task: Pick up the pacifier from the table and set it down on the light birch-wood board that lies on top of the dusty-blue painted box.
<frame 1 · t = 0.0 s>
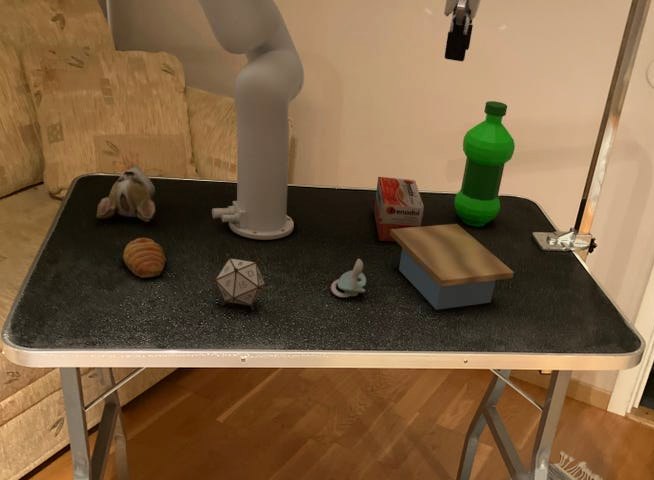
hand: (456, 54, 124), 37 cm above the table, tool pointing down, fingers open, 9 cm apart
pastry: (146, 267, 129), on the table
blue box: (443, 285, 135), on the table
plastic bottle: (473, 222, 162), on the table
medicine box: (395, 228, 155), on the table
board: (449, 255, 132), resting on blue box
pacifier: (347, 292, 130), on the table
game die: (240, 304, 122), on the table
ceramic sculpture: (131, 215, 145), on the table
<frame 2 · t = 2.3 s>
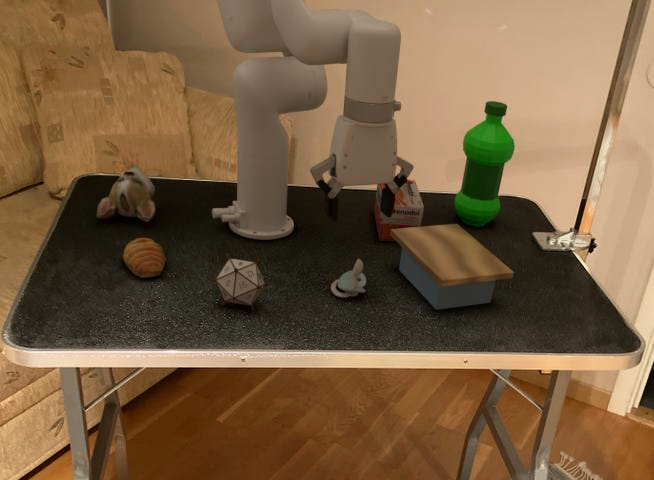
hand: (358, 216, 122), 14 cm above the table, tool pointing down, fingers open, 9 cm apart
nothing on the table moved.
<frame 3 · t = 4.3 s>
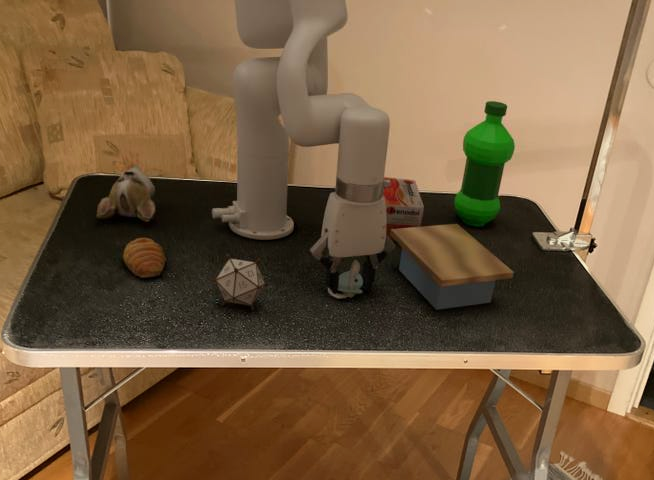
hand: (349, 287, 129), 1 cm above the table, tool pointing down, fingers closed on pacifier, 5 cm apart
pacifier: (344, 293, 129), on the table, touching gripper
everything else where it was.
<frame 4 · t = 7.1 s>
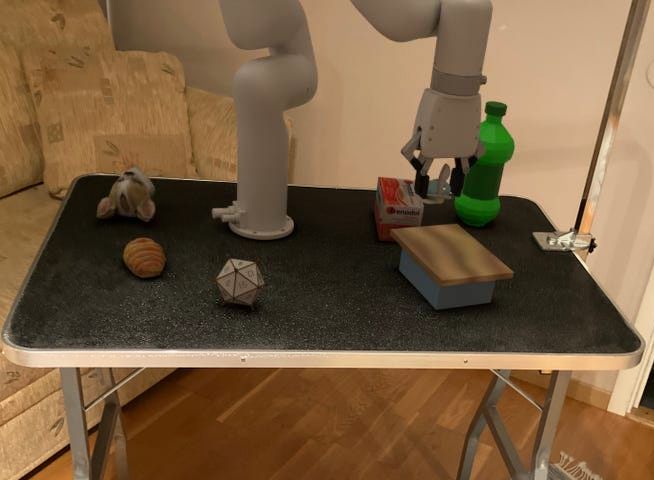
hand: (437, 194, 124), 18 cm above the table, tool pointing down, fingers closed on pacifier, 5 cm apart
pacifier: (432, 200, 125), point 17 cm above the table, touching gripper
everything else where it was.
when the fingers open (8 cm above the table, at t = 10.1 s): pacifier stays where it is, resting on board.
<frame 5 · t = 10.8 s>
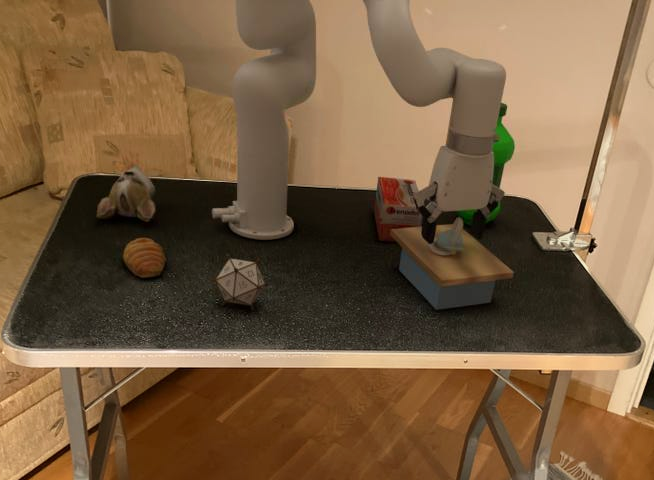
hand: (451, 238, 130), 9 cm above the table, tool pointing down, fingers open, 9 cm apart
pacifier: (445, 250, 131), point 7 cm above the table, touching board
everything else where it was.
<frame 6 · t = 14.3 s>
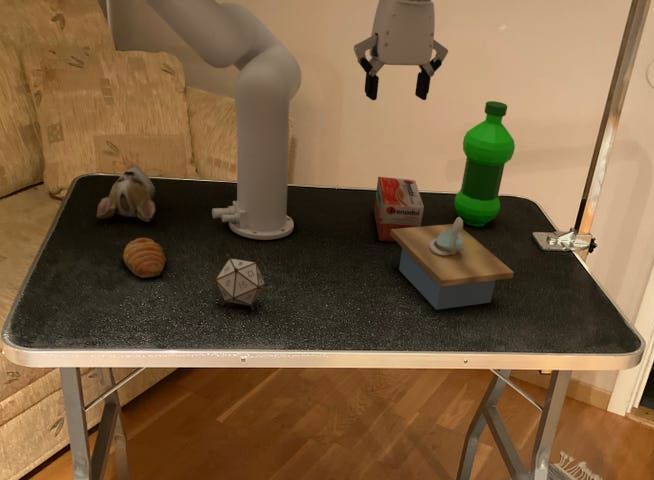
hand: (396, 98, 131), 28 cm above the table, tool pointing down, fingers open, 9 cm apart
nothing on the table moved.
at the end: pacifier inside the target area on the board (0.8 cm from its centre), point 1.0 cm above the board's base; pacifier touching board; the gripper is holding nothing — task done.
